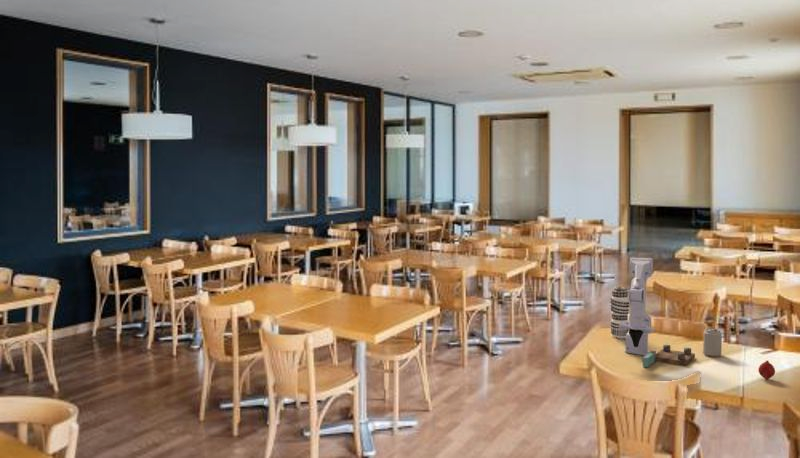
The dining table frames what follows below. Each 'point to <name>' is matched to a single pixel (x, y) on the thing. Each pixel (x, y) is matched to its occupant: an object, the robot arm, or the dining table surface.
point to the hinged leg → (649, 359)
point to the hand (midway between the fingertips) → (636, 346)
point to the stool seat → (675, 356)
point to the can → (712, 342)
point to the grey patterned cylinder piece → (619, 311)
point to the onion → (766, 370)
